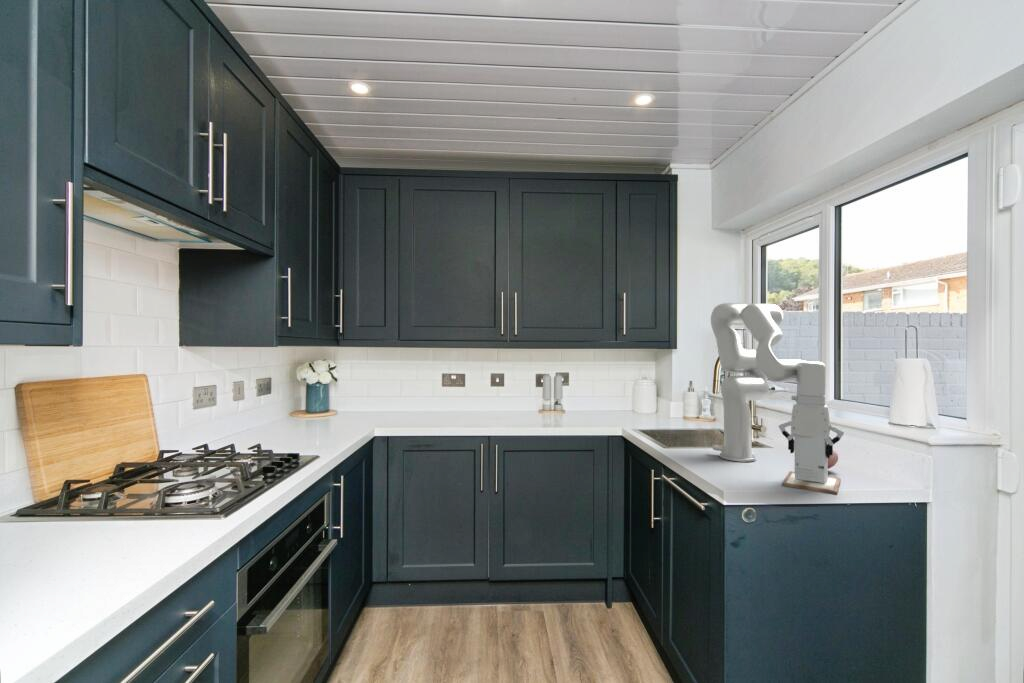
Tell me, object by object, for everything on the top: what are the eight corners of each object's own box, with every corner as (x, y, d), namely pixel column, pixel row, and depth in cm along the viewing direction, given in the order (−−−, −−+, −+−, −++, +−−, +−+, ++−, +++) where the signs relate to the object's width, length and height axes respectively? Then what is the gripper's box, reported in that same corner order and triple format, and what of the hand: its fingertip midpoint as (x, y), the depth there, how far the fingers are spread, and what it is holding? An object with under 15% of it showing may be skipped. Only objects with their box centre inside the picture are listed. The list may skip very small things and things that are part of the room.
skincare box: (794, 479, 147) (792, 432, 147) (799, 475, 151) (796, 429, 152) (826, 483, 141) (823, 434, 142) (830, 479, 145) (827, 431, 146)
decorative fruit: (800, 467, 165) (800, 439, 165) (818, 466, 167) (818, 438, 167) (824, 474, 156) (823, 445, 156) (843, 473, 158) (843, 443, 158)
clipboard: (781, 485, 144) (781, 479, 144) (789, 473, 157) (789, 468, 157) (836, 494, 135) (836, 488, 135) (840, 481, 148) (840, 475, 148)
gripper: (777, 399, 149) (776, 452, 149) (843, 404, 138) (842, 462, 138) (781, 397, 155) (780, 448, 155) (845, 401, 144) (844, 457, 144)
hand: (809, 454), depth 147 cm, fingers open, 9 cm apart
